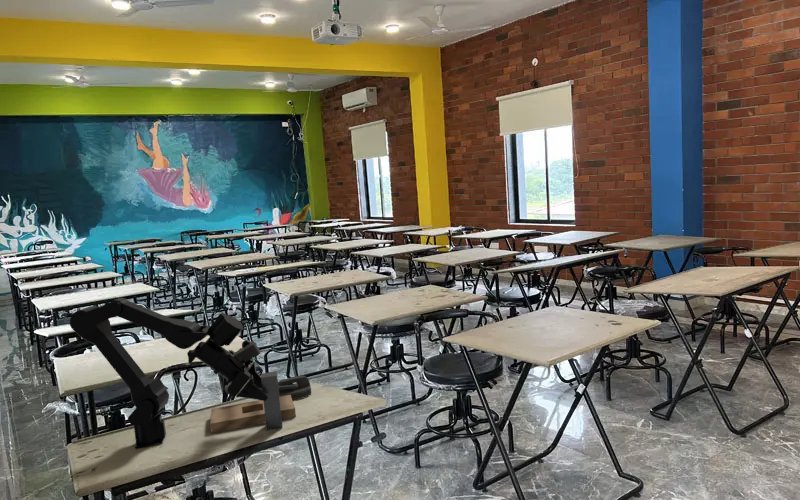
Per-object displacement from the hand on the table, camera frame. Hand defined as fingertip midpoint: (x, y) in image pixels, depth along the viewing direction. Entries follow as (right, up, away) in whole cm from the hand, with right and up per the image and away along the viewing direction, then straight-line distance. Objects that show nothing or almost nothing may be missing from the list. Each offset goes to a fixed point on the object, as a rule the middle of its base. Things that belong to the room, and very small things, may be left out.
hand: (267, 393), depth 147 cm
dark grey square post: (+2, -9, +1) cm, 9 cm away
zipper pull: (-4, -8, +22) cm, 24 cm away
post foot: (-6, -9, +9) cm, 14 cm away
